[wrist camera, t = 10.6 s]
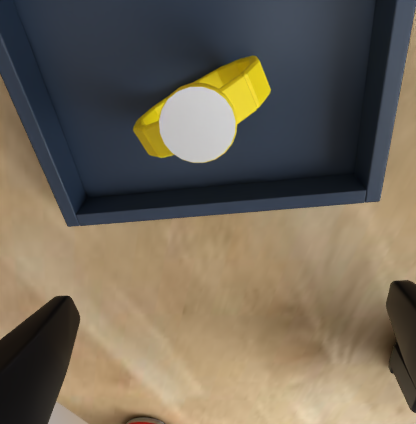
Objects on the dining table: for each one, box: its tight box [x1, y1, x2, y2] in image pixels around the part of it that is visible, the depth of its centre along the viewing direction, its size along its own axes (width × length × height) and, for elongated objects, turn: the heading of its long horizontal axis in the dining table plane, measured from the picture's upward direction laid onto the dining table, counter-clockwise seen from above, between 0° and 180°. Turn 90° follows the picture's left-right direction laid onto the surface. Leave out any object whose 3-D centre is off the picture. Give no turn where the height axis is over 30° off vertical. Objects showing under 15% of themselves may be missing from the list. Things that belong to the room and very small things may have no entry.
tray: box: [0, 0, 416, 227], centre depth 16 cm, size 18×13×2 cm
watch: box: [133, 56, 271, 163], centre depth 14 cm, size 6×3×6 cm, turn 117°
